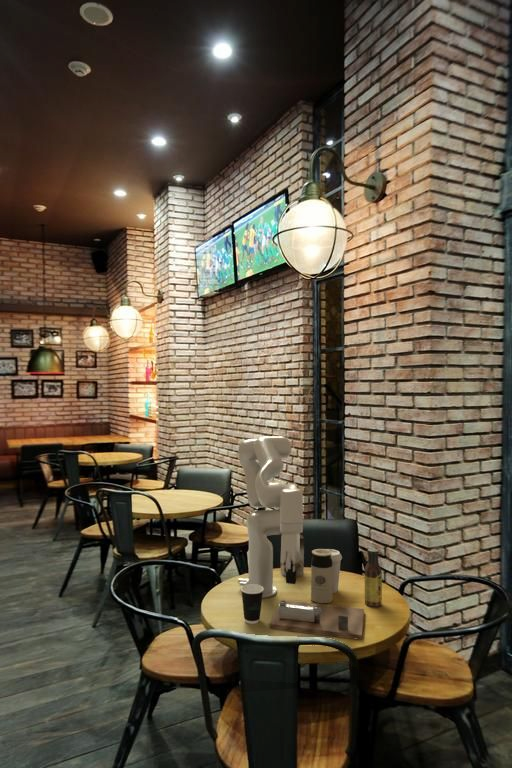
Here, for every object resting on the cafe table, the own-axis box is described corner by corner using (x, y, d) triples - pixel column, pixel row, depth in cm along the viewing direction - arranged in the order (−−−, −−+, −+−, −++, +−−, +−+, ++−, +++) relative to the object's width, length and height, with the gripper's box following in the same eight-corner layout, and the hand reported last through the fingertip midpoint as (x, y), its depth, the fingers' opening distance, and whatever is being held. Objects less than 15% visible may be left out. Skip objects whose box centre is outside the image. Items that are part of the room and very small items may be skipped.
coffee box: (282, 576, 216) (283, 538, 216) (280, 571, 222) (280, 534, 222) (304, 575, 217) (304, 538, 217) (300, 570, 223) (301, 533, 223)
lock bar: (279, 618, 171) (279, 603, 171) (280, 615, 174) (280, 600, 174) (319, 623, 168) (319, 607, 168) (320, 619, 170) (320, 604, 170)
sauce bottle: (382, 608, 184) (382, 553, 185) (364, 606, 186) (364, 552, 186) (381, 601, 191) (381, 548, 191) (364, 599, 192) (364, 547, 192)
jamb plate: (269, 628, 168) (269, 610, 168) (281, 604, 188) (281, 587, 188) (361, 639, 161) (361, 620, 161) (363, 613, 180) (364, 596, 180)
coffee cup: (345, 588, 203) (345, 551, 203) (335, 596, 195) (336, 557, 195) (323, 583, 208) (323, 547, 208) (313, 591, 200) (313, 553, 200)
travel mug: (316, 593, 197) (316, 547, 198) (335, 598, 193) (335, 550, 194) (307, 601, 191) (307, 552, 191) (327, 605, 186) (327, 556, 187)
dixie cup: (249, 613, 179) (250, 582, 180) (268, 619, 175) (268, 587, 175) (235, 621, 173) (235, 589, 173) (254, 628, 168) (254, 594, 168)
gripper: (284, 520, 176) (284, 574, 175) (275, 531, 161) (275, 590, 161) (305, 522, 174) (305, 576, 173) (298, 533, 159) (298, 592, 159)
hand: (291, 582), depth 167 cm, fingers closed
